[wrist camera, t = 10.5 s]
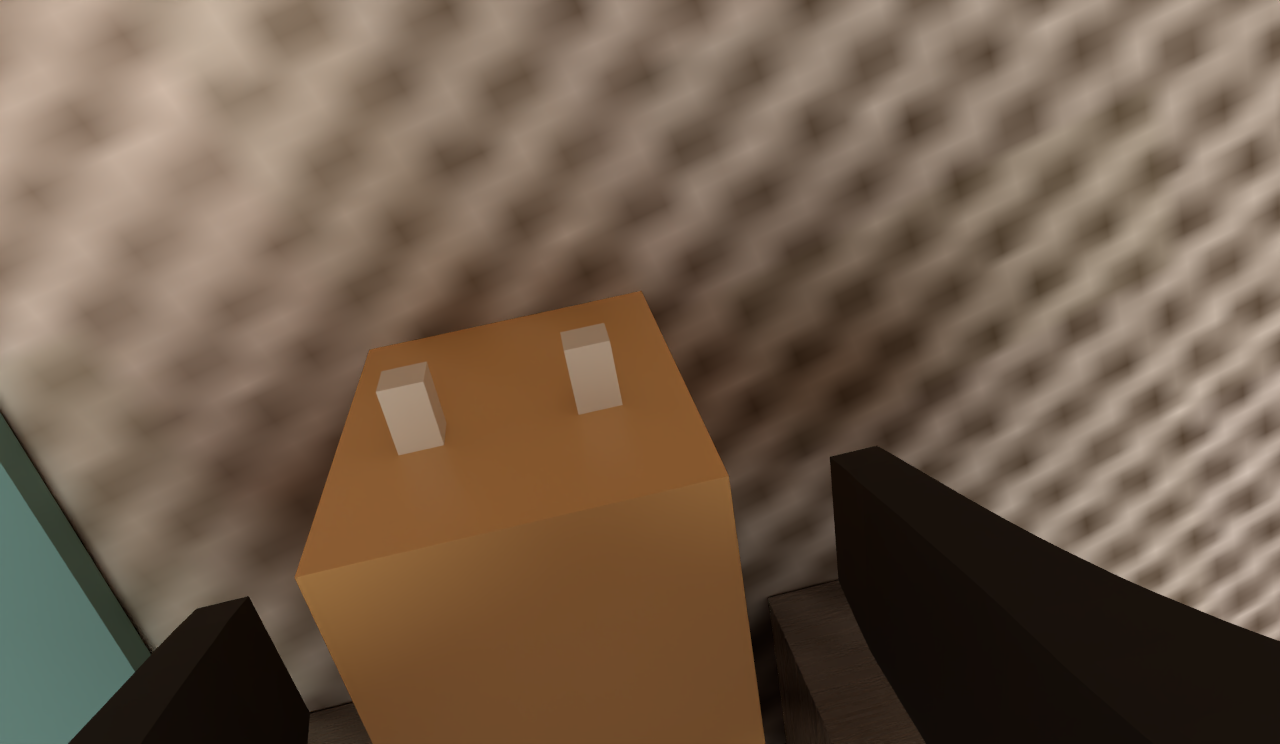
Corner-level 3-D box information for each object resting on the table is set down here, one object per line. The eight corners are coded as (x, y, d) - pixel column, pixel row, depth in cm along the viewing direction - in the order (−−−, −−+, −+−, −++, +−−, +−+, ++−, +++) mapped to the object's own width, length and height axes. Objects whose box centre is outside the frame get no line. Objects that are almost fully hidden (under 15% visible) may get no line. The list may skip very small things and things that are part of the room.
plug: (678, 506, 14) (767, 759, 9) (445, 562, 13) (423, 849, 9) (632, 238, 12) (718, 402, 7) (351, 297, 11) (261, 505, 7)
